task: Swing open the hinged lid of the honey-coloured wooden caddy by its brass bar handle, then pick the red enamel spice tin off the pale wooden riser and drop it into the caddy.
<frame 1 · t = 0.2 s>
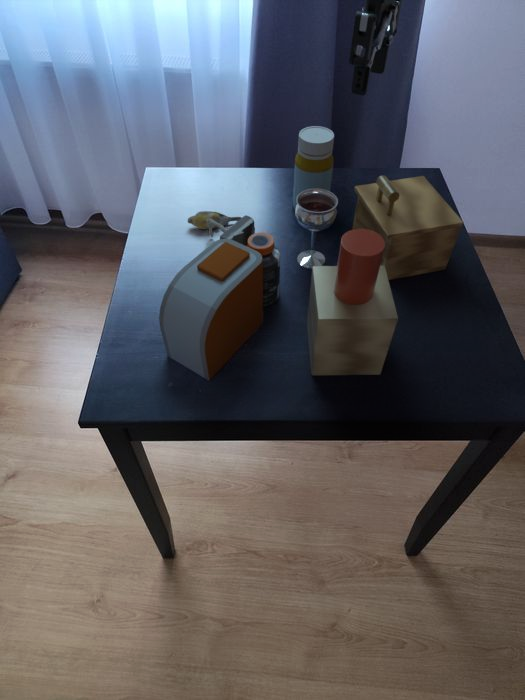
hand: (368, 82, 71), 25 cm above the table, tool pointing down, fingers open, 8 cm apart
wineglass: (311, 259, 85), on the table
decorative sculpture: (227, 241, 88), on the table
bottle: (310, 209, 95), on the table
riser: (341, 348, 72), on the table
caddy: (396, 250, 86), on the table
spice tin: (353, 290, 63), point 12 cm above the table, touching riser
lid: (409, 194, 77), point 12 cm above the table, hinge at 0.0°
pill bottle: (261, 295, 79), on the table
alarm clock: (218, 336, 74), on the table
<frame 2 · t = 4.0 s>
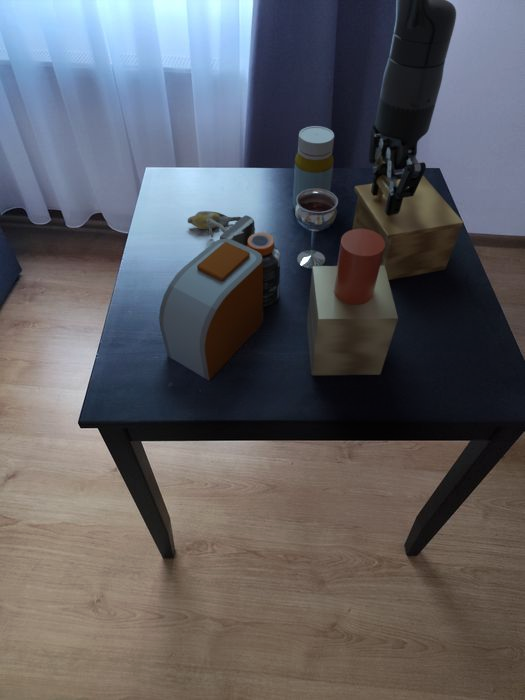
hand: (384, 203, 77), 11 cm above the table, tool pointing down, fingers closed on lid, 5 cm apart
lid: (409, 194, 77), point 12 cm above the table, hinge at 0.0°, touching gripper
everything else where it was.
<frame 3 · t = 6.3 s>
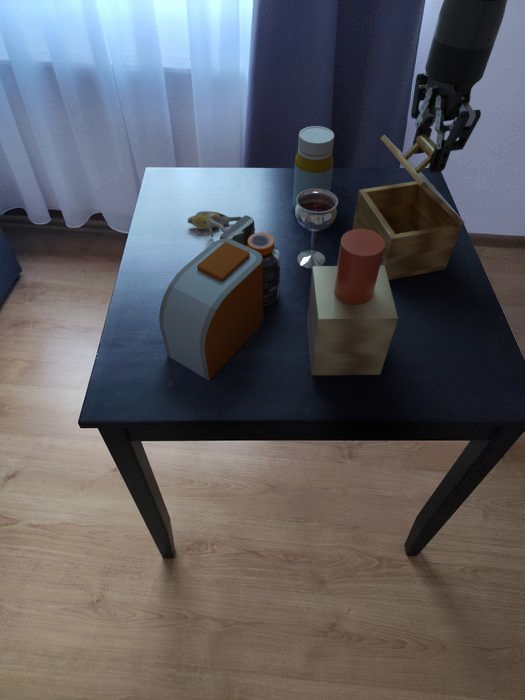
hand: (426, 161, 73), 17 cm above the table, tool pointing down, fingers closed on lid, 5 cm apart
lid: (433, 169, 75), point 15 cm above the table, hinge at 42.4°, touching gripper
everything else where it was.
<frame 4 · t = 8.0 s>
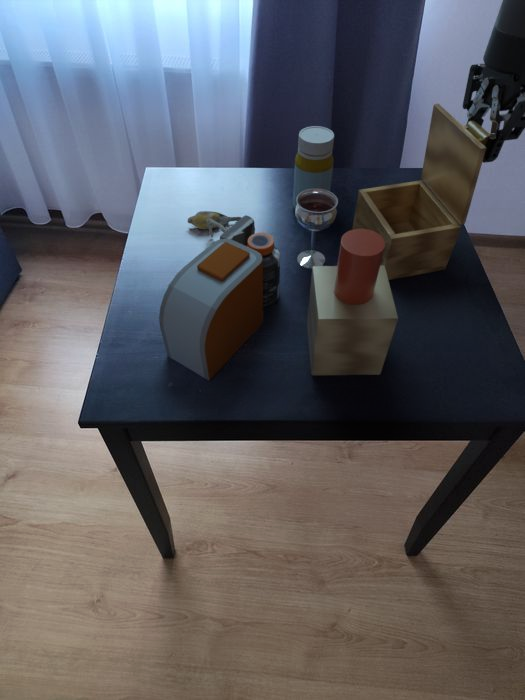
hand: (477, 151, 74), 17 cm above the table, tool pointing down, fingers closed on lid, 5 cm apart
lid: (462, 161, 75), point 16 cm above the table, hinge at 83.9°, touching gripper
everything else where it was.
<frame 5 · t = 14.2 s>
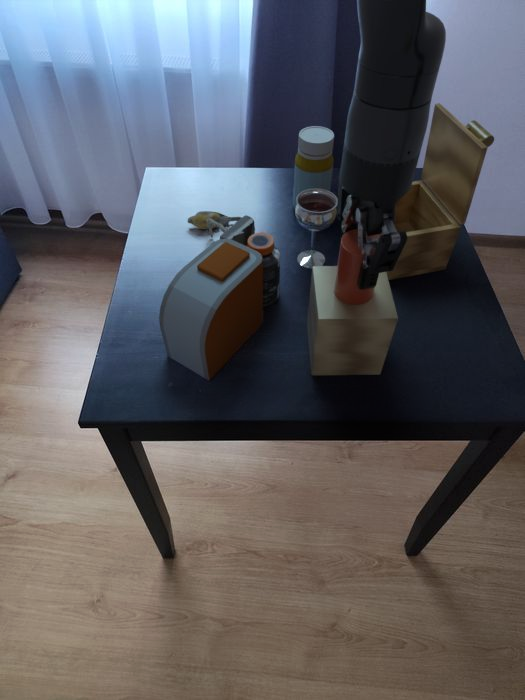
hand: (357, 270, 60), 15 cm above the table, tool pointing down, fingers closed on spice tin, 5 cm apart
spice tin: (353, 290, 63), point 12 cm above the table, touching gripper, riser
lid: (462, 161, 75), point 16 cm above the table, hinge at 84.8°
everything else where it was.
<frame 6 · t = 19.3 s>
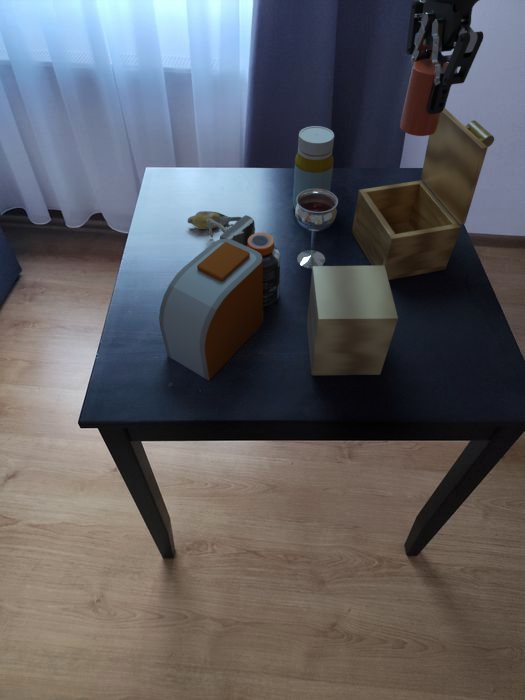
hand: (424, 102, 66), 26 cm above the table, tool pointing down, fingers closed on spice tin, 5 cm apart
spice tin: (417, 127, 68), point 23 cm above the table, touching gripper
everything else where it was.
when the fingers open (9 cm above the table, at t = 24.3 s): spice tin drops 5 cm, resting on caddy.
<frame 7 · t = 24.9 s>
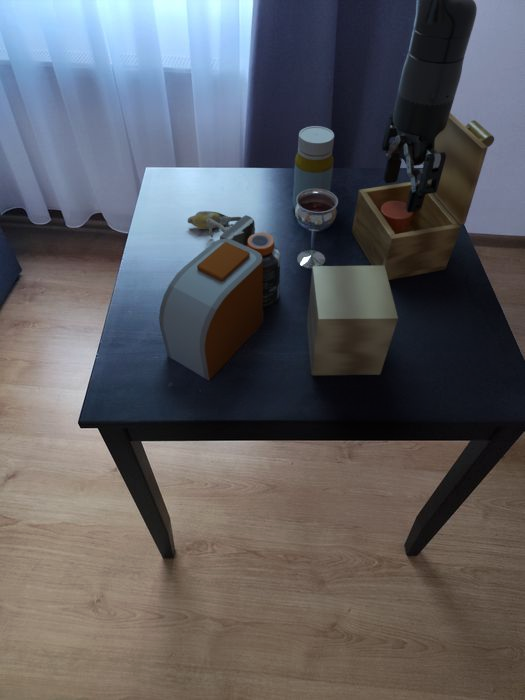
hand: (400, 195, 77), 12 cm above the table, tool pointing down, fingers open, 8 cm apart
spice tin: (387, 247, 85), point 1 cm above the table, touching caddy
everything else where it was.
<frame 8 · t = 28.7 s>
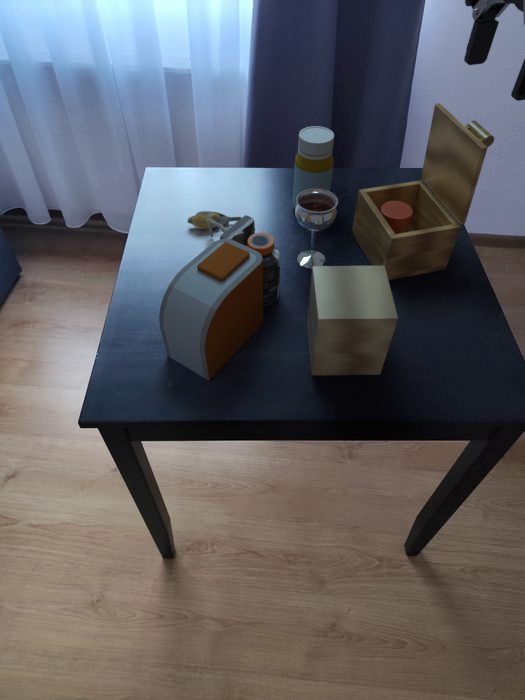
hand: (496, 79, 47), 36 cm above the table, tool pointing down, fingers open, 8 cm apart
nothing on the table moved.
at the end: lid at +85° (first picture: +0°); spice tin inside the target area in the caddy (2.1 cm from its centre), point 1.0 cm above the caddy's base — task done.
